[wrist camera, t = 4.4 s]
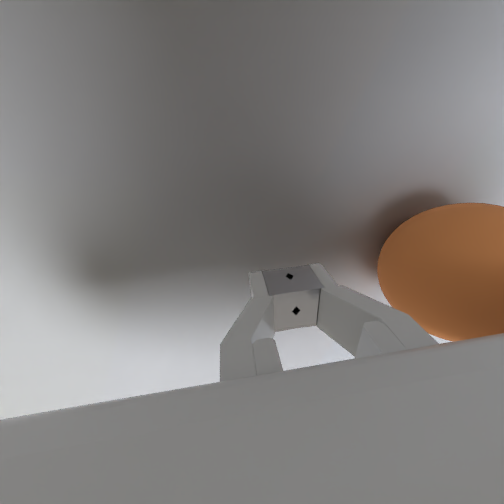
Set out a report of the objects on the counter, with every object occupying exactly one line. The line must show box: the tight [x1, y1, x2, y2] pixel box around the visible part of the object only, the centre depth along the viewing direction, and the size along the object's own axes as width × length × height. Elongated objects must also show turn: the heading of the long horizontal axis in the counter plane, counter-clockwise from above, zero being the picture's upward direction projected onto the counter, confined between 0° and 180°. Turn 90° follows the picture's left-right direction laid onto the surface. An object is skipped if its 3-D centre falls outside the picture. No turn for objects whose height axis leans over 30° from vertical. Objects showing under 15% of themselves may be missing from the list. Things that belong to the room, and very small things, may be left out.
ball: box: [377, 203, 504, 342], centre depth 9 cm, size 6×6×6 cm
